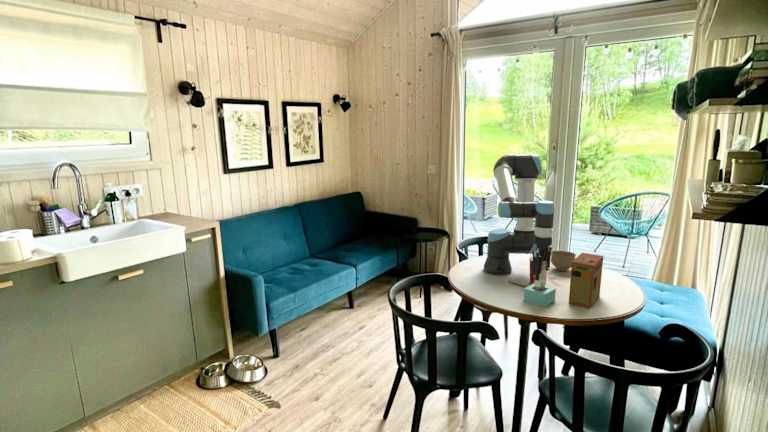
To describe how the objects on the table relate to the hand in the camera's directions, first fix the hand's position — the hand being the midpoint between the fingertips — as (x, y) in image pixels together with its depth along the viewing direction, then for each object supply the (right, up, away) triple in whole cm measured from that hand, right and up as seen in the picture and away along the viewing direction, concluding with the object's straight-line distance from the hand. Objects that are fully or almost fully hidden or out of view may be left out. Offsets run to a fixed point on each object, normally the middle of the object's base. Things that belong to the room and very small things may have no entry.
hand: (540, 285), depth 186 cm
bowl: (+28, +1, +41) cm, 50 cm away
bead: (0, -7, +2) cm, 8 cm away
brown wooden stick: (-4, -3, +20) cm, 21 cm away
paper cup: (+6, -3, +23) cm, 24 cm away
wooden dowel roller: (0, -5, +1) cm, 5 cm away
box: (+21, -7, +1) cm, 22 cm away
